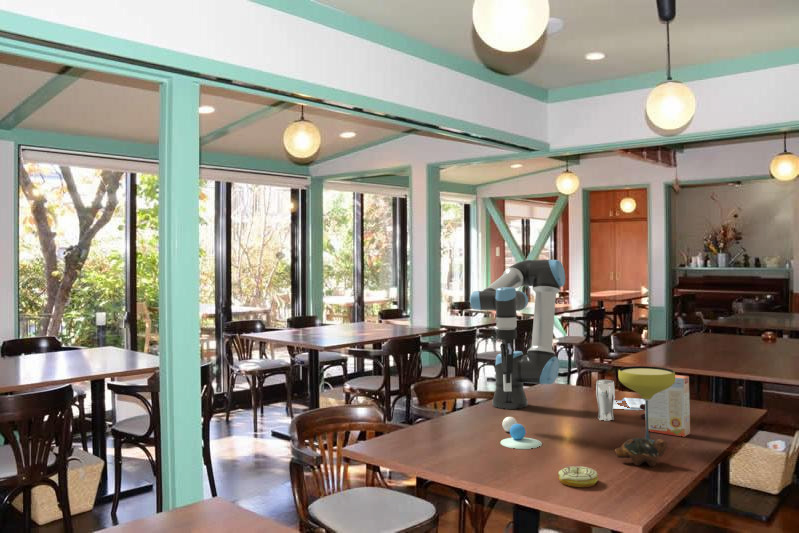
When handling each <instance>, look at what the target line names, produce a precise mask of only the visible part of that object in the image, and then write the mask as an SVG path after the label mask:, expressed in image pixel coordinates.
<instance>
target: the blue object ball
mask: <svg viewBox="0 0 799 533" xmlns="http://www.w3.org/2000/svg"><path fill="white" fill-rule="evenodd" d="M526 434H527V432H526V428H525V426H524V425H523V424H522V423H517V424H514V425H512V426H511V428H510V432H509V435H510V438H514V439H516V440H520V439H522V438H525V436H526Z"/></svg>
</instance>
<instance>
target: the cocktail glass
mask: <svg viewBox="0 0 799 533" xmlns="http://www.w3.org/2000/svg"><path fill="white" fill-rule="evenodd" d="M617 374H618V381H619V382H620V383H621V384H622V385H623V386H625V387H626V388H628V389H629V390H632V391H633V392H635V393H637V394H638V395H640V396H641V399H644V400H646V421H645V436H644V438H645V439H648V440H649V441H651V442H652V443H653V442H654V440H655V439H652V438H650V433H649V429H648V400H650V399H651V398H652V396H653V395H655V394H656V393H658V392H661V391H663V390H665V389H667V388H669V387H671V386H672V385H673V384H674V383H675V375H676V372H675V370H673V369H671V368H666V367H661V366H660V367H658V366H648V365H647V366H646V365H645V366H643V365H640V366H639V365H637V366H633V365H632V366H624V367H621V368H618V373H617Z"/></svg>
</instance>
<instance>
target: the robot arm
mask: <svg viewBox="0 0 799 533" xmlns="http://www.w3.org/2000/svg"><path fill="white" fill-rule="evenodd" d="M565 284H566V273H565V268H564V266H563V263H562V262H561V261H560V260H559V259H525V260H522V261H519V262H516V263H515V264H513V265H510V266H509V267H507V268H506V269H505V270H504V271H503V273H502V275H501V276H500V277H499V278H497V279H496V280H494V281H493V282H492V283H491V284H490V285H489V286H487V287H486V288H484V289H483V290H474V291H473V292H471V294H470V297H469V303H470V304H469V305H470V306H471V309H473V310H477V311H479V310H480V311H495V312H496V313H495V320H494V323H496V325H495V326H496V328H497V329H496V330H495V331H496V332H495V333H496V339H497V340H500V341H501V343H500V346H499V347H500V353H498V354H497V355H496V356H495V364H494V366H495V390H494V395H493V398H492V400H491V403H492V406H493V407H494V408H497V407H498V408H497V409H503V408H505V410H506V409H507V410H518V409H517V408H520V409H524V408H523V407H525V408H527V407H528V406H529V405H528V403H529V402H528V399H527V396H526V391H525V389H524V383H526V384H537V385H552V384H554V382H555V381H556V380H557V378H558V376H559V372H560V360H559V358H558V357H557V356H556V352H555V351H554V349H553V341H554V340H553V339H554V338H553V337H554V323H555V312H556V311H555V310H556V297H557V294H558V293H560V292H561V291H560V290H561V288H562V287H565ZM521 287H532V290H533V292H534V293H535V298H534V309H533V310H534V312H533V324H532V338H531V347H530V348H528V349H527V352H526V354H525V355H524V353H523V351H522V350H521V351H520V350H514V344H513V343H512V340H516V339H517V336H518V334H517V332H518V331H517V327H518V326H517V312H520V311H522V310H524V309H526V307H527V306H528V304H529V297H528V295H527V294H526V293H525V292H523V291H522V290H521V291H520V290H516V289H518V288H521ZM526 406H527V407H526Z"/></svg>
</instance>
